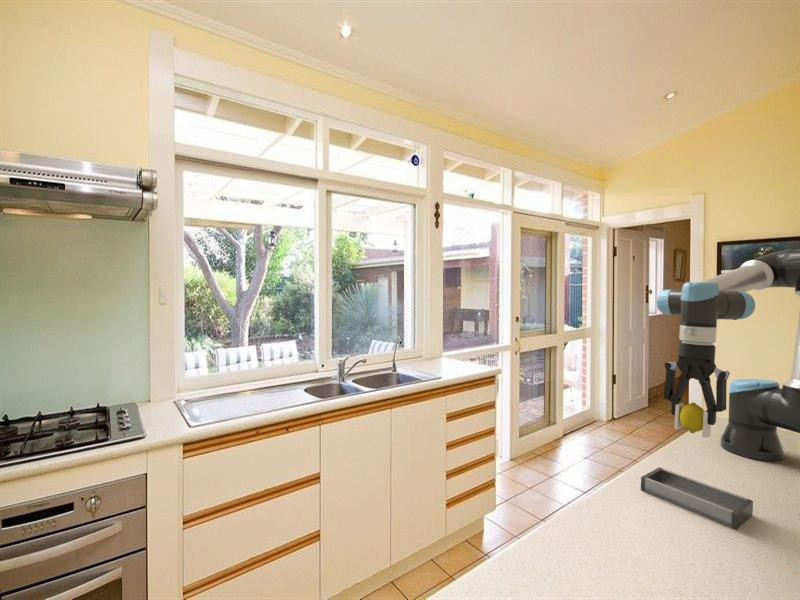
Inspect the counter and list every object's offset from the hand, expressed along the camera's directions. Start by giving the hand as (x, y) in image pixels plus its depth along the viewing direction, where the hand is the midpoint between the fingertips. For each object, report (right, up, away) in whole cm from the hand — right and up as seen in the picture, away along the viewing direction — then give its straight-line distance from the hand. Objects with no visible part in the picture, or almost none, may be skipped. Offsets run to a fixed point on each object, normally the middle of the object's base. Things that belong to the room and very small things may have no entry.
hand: (691, 432), depth 102 cm
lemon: (0, -1, 0) cm, 1 cm away
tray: (-2, -16, -4) cm, 17 cm away
